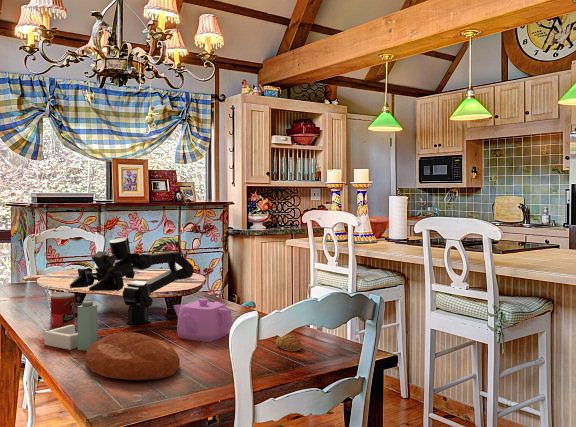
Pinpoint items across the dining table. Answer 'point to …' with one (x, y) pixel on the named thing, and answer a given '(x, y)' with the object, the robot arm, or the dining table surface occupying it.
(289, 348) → the pastry
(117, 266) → the robot arm
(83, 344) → the post
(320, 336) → the dining table surface
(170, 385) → the dining table surface
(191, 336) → the teakettle
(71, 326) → the cradle
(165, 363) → the bread
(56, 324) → the canned food
